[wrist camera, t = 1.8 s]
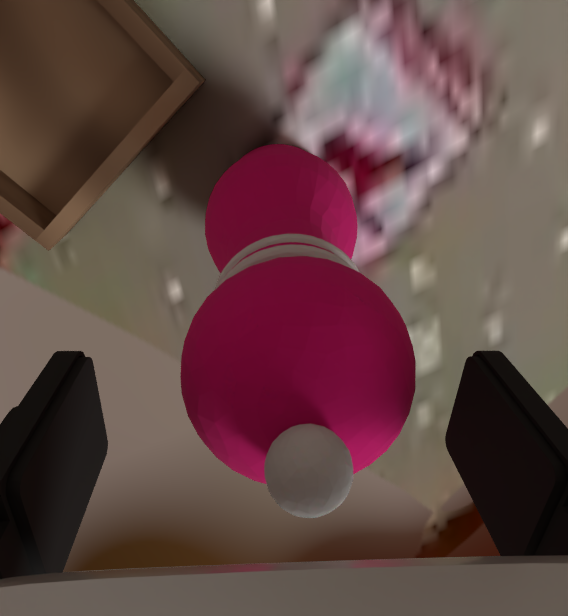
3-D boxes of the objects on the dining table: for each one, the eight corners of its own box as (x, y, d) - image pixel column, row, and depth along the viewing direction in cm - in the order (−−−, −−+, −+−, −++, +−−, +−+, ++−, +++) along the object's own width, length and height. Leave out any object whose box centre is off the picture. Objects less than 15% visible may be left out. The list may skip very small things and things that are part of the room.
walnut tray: (-10, -158, 18) (-48, -188, 16) (205, 79, 23) (199, 82, 21) (-142, 65, 22) (-189, 66, 20) (67, 233, 26) (48, 250, 24)
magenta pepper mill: (189, 170, 25) (18, 445, 7) (311, 108, 24) (454, 263, 6) (249, 279, 28) (230, 648, 11) (360, 230, 27) (543, 555, 9)
